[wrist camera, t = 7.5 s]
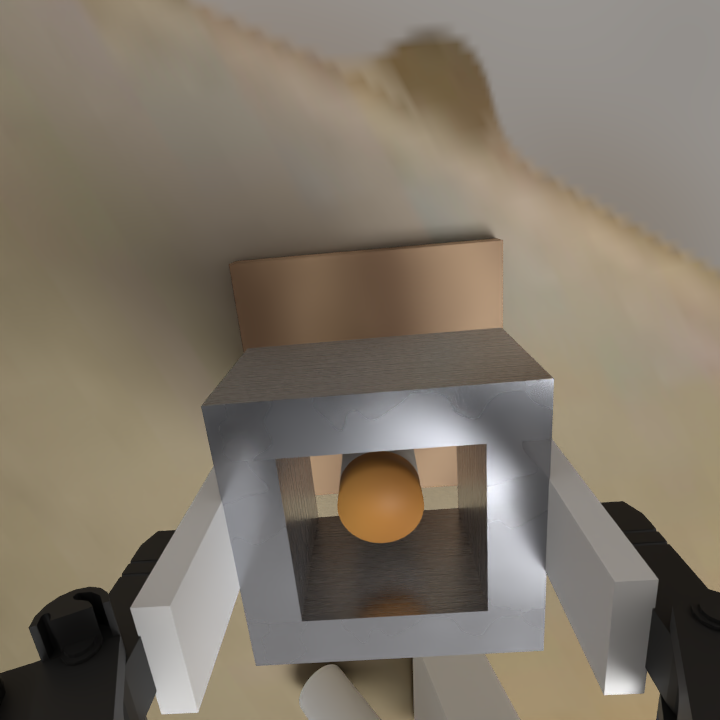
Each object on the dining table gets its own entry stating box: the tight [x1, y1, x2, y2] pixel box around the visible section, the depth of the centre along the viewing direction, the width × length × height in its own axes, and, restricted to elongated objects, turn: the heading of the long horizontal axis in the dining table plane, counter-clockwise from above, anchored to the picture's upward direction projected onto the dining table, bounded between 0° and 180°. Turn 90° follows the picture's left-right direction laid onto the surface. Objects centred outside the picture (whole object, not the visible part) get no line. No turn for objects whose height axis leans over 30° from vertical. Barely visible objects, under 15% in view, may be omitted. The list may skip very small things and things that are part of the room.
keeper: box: [229, 238, 503, 543], centre depth 19 cm, size 12×12×11 cm
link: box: [201, 327, 554, 666], centre depth 14 cm, size 8×8×4 cm
